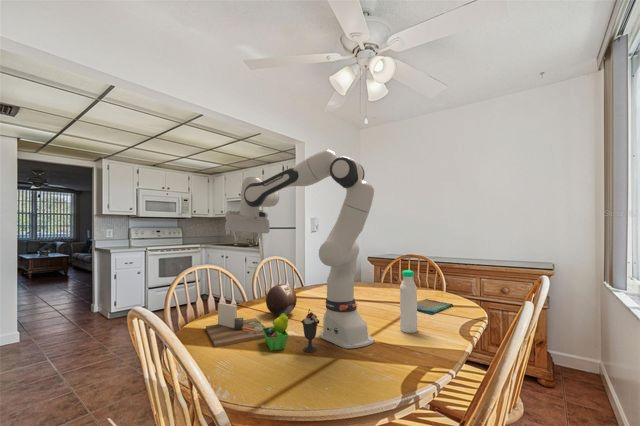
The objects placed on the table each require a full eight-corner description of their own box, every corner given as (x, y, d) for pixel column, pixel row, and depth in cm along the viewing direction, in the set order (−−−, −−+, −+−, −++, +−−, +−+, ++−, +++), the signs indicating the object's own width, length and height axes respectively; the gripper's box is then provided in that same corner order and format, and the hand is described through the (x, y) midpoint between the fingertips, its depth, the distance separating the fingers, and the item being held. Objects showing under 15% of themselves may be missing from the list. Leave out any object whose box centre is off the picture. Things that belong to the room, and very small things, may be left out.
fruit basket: (261, 341, 118) (262, 311, 119) (284, 338, 121) (284, 309, 122) (267, 352, 108) (267, 320, 108) (292, 349, 111) (292, 317, 111)
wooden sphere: (283, 322, 140) (283, 289, 141) (259, 316, 148) (259, 285, 149) (302, 313, 153) (302, 283, 153) (279, 309, 161) (279, 280, 161)
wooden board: (272, 336, 123) (272, 332, 123) (214, 347, 112) (215, 343, 112) (255, 320, 142) (255, 317, 142) (205, 328, 132) (205, 325, 132)
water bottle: (418, 329, 131) (417, 270, 131) (416, 334, 124) (415, 272, 125) (401, 326, 134) (401, 269, 134) (398, 332, 127) (398, 271, 128)
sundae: (305, 355, 106) (305, 311, 106) (298, 348, 111) (297, 306, 112) (322, 351, 109) (322, 308, 109) (314, 344, 115) (314, 304, 115)
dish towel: (401, 308, 163) (401, 304, 163) (424, 301, 178) (424, 296, 179) (431, 316, 150) (431, 311, 150) (454, 307, 166) (453, 302, 166)
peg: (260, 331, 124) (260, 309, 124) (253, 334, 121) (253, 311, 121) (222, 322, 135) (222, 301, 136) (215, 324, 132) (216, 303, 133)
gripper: (225, 210, 137) (222, 241, 137) (271, 214, 142) (268, 243, 143) (226, 210, 143) (223, 239, 143) (270, 213, 148) (267, 242, 149)
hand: (246, 241), depth 143 cm, fingers open, 8 cm apart
